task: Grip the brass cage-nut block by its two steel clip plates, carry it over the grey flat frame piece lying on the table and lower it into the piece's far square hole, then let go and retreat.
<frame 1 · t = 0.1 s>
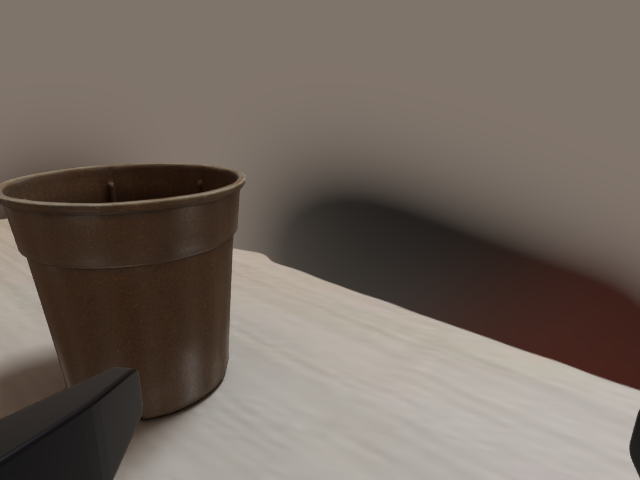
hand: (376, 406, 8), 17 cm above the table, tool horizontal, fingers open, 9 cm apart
plant pot: (150, 375, 37), on the table
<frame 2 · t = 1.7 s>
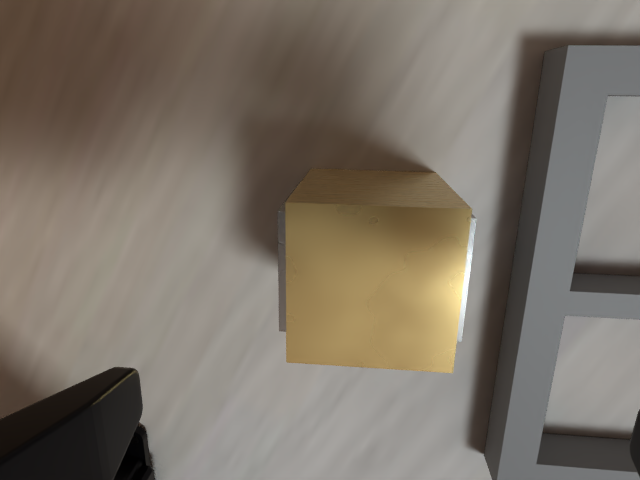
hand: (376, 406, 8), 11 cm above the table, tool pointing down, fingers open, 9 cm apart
cage nut: (369, 229, 19), on the table
grey flat frame piece: (635, 287, 19), on the table
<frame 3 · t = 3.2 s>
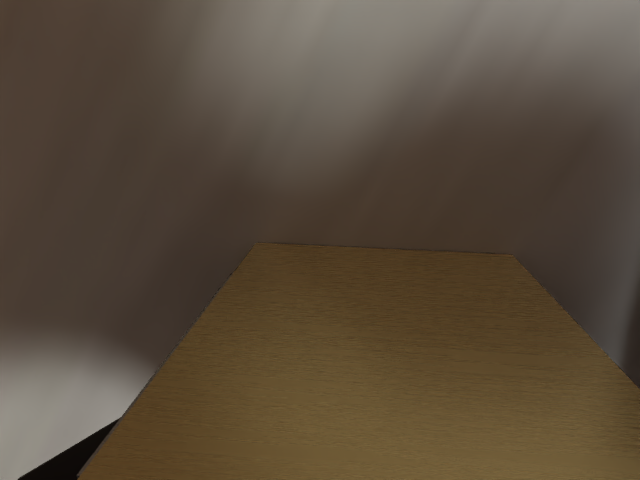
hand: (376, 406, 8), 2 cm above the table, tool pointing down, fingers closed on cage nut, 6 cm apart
cage nut: (374, 359, 10), on the table, touching gripper
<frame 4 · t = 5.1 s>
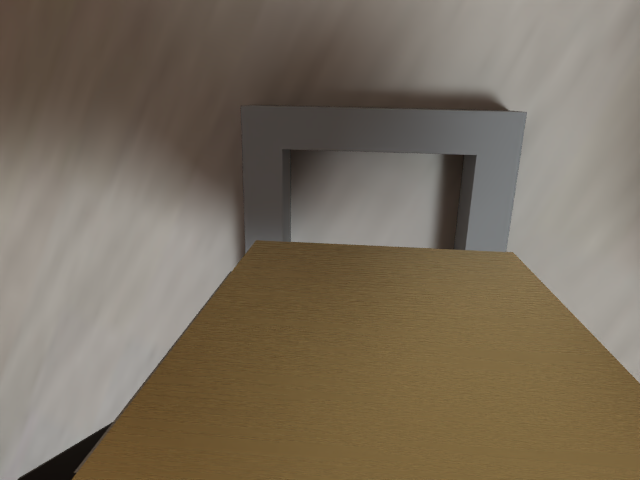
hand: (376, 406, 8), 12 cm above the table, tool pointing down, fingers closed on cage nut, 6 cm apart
cage nut: (374, 358, 10), point 10 cm above the table, touching gripper
grey flat frame piece: (367, 314, 21), on the table
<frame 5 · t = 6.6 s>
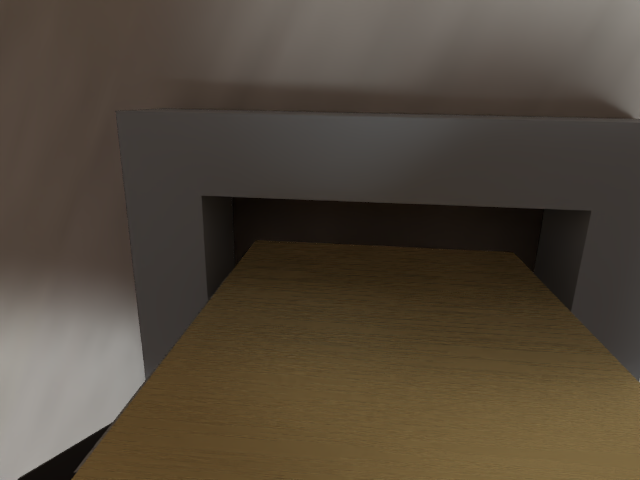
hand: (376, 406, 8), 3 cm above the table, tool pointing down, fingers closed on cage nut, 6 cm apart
cage nut: (374, 357, 10), point 2 cm above the table, touching gripper
grey flat frame piece: (368, 456, 12), on the table
when the fingers open (3 cm above the table, at t = 7.5 s): cage nut drops 2 cm, resting in grey flat frame piece.
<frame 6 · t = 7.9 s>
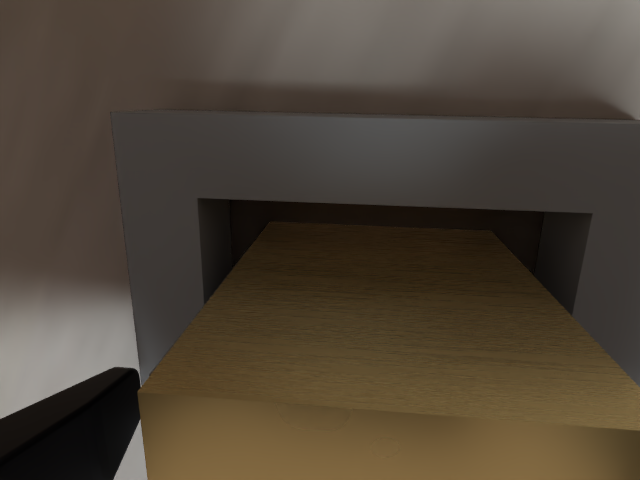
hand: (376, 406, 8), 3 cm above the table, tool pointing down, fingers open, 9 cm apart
cage nut: (372, 324, 11), resting in grey flat frame piece
grey flat frame piece: (366, 460, 12), on the table
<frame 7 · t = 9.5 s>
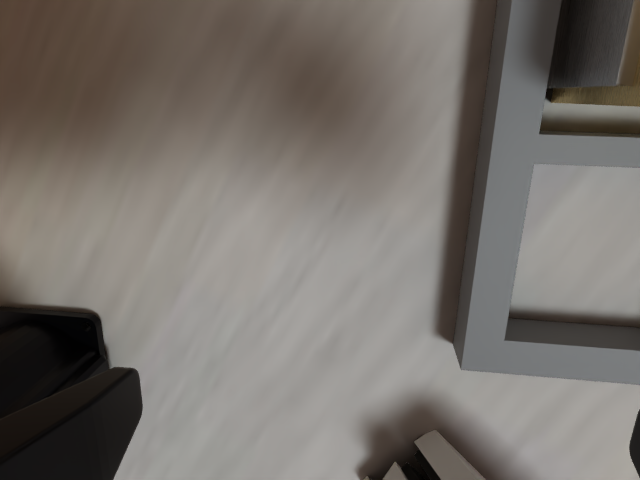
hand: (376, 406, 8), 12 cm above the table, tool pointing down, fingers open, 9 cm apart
cage nut: (636, 30, 16), resting in grey flat frame piece
grey flat frame piece: (614, 146, 17), on the table
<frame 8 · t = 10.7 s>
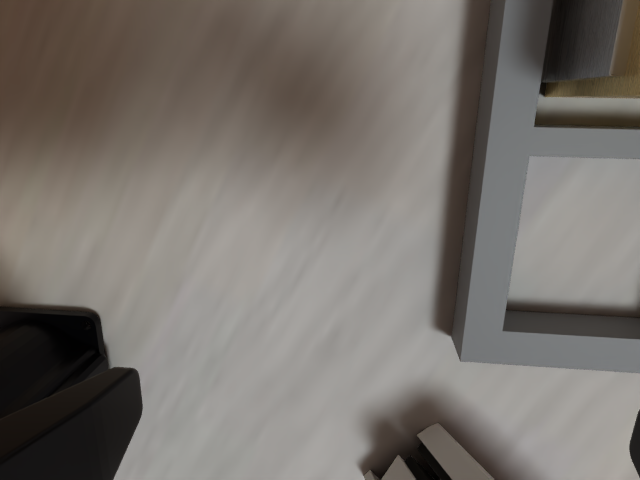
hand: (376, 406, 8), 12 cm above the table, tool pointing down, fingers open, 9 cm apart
cage nut: (626, 26, 17), resting in grey flat frame piece
grey flat frame piece: (606, 139, 18), on the table
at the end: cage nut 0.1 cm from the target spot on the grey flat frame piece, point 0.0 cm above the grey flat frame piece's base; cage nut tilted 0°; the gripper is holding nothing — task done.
